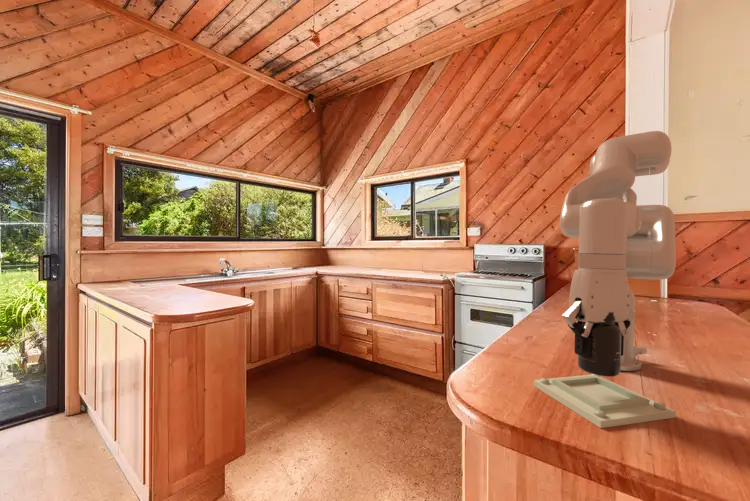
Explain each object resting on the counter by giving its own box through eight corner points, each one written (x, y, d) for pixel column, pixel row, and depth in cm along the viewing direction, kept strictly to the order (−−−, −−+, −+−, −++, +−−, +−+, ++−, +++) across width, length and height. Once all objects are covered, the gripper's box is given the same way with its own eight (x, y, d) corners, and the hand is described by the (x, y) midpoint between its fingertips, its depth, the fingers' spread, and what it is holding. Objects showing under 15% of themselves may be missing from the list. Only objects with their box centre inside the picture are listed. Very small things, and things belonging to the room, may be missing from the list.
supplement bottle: (628, 379, 58) (630, 314, 58) (586, 375, 60) (588, 311, 59) (608, 365, 65) (610, 306, 65) (571, 362, 66) (573, 305, 66)
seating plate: (595, 379, 72) (595, 369, 72) (675, 417, 56) (675, 405, 56) (533, 385, 69) (533, 375, 69) (600, 428, 53) (600, 415, 53)
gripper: (619, 262, 67) (616, 346, 68) (548, 262, 64) (546, 350, 64) (657, 264, 60) (654, 358, 60) (579, 264, 56) (577, 364, 57)
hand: (598, 353), depth 62 cm, fingers closed on supplement bottle, 6 cm apart
